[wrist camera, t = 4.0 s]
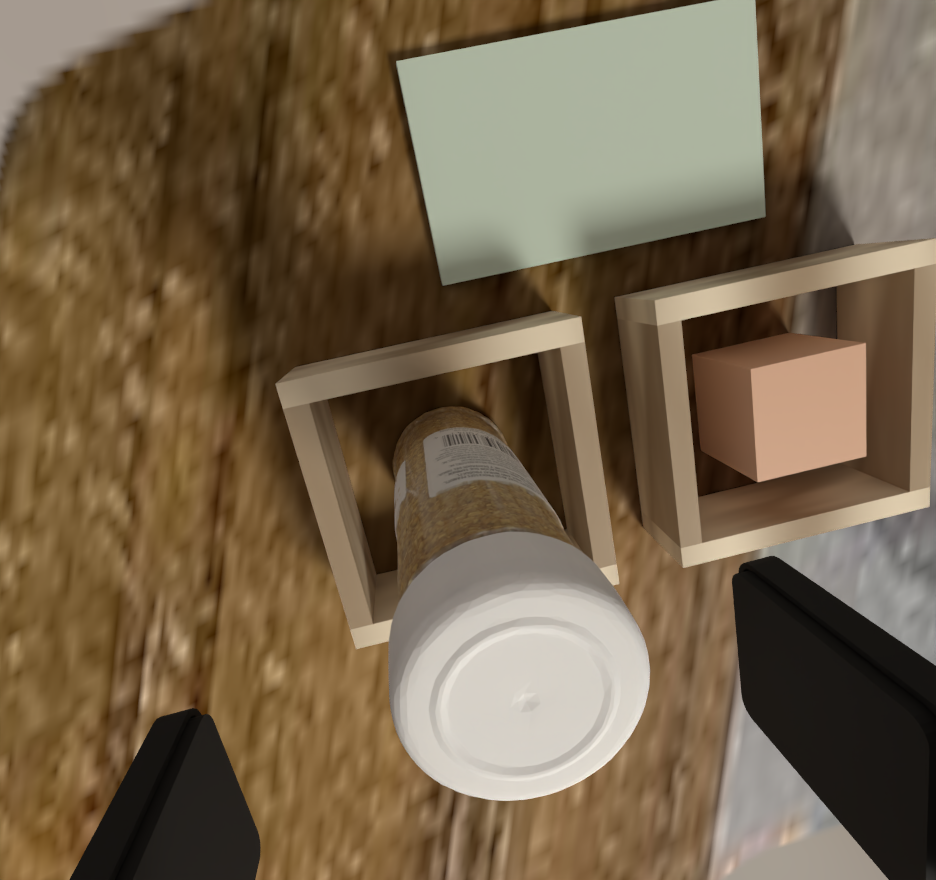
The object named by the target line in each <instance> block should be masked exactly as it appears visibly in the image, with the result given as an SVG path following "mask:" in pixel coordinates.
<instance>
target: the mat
mask: <svg viewBox="0 0 936 880" xmlns="http://www.w3.org/2000/svg"><path fill="white" fill-rule="evenodd" d="M396 67H397V72H398V77H399V81H400V86H401V91H402V96H403V101H404V105H405V110H406V115H407V120H408V124H409V129H410V134H411V139H412V144H413V148H414V153H415V158H416V163H417V168H418V172H419V177H420V182H421V187H422V192H423V196H424V201H425V206H426V211H427V215H428V220H429V225H430V230H431V235H432V239H433V244H434V249H435V254H436V259H437V263H438V268H439V273H440V278H441V282H442V286H444V285H449V284H454V283H458V282H463V281H468V280H472V279H477V278H482V277H486V276H491V275H496V274H500V273H505V272H510V271H514V270H519V269H524V268H528V267H533V266H538V265H542V264H547V263H552V262H557V261H561V260H566V259H571V258H575V257H580V256H585V255H589V254H594V253H599V252H603V251H608V250H613V249H617V248H622V247H627V246H631V245H636V244H641V243H645V242H650V241H655V240H659V239H664V238H669V237H673V236H678V235H683V234H688V233H692V232H697V231H702V230H706V229H711V228H716V227H720V226H725V225H730V224H734V223H739V222H744V221H748V220H753V219H758V218H762V217H766V212H765V191H764V171H763V151H762V130H761V110H760V89H759V69H758V49H757V28H756V8H755V0H716V1H710V2H705V3H700V4H695V5H689V6H684V7H679V8H673V9H668V10H663V11H658V12H652V13H647V14H642V15H637V16H631V17H626V18H621V19H616V20H610V21H605V22H600V23H595V24H589V25H584V26H579V27H574V28H568V29H563V30H558V31H552V32H547V33H542V34H537V35H531V36H526V37H521V38H516V39H510V40H505V41H500V42H495V43H489V44H484V45H479V46H474V47H468V48H463V49H458V50H453V51H447V52H442V53H437V54H431V55H426V56H421V57H416V58H410V59H405V60H400V61H396Z"/></svg>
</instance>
